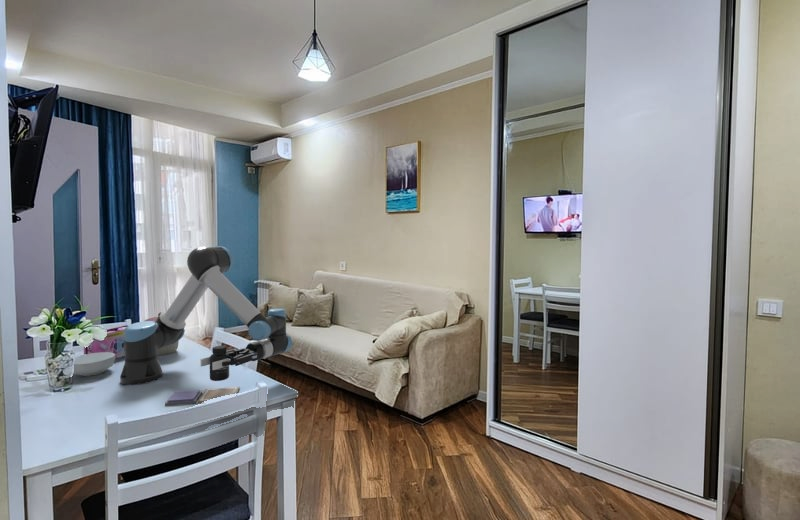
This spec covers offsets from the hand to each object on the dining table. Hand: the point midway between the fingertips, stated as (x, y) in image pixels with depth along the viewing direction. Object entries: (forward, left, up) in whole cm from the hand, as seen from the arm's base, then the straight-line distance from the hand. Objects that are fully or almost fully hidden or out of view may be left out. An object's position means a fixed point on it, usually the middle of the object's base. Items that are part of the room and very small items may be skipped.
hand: (207, 364), depth 152 cm
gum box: (-59, +66, -14) cm, 90 cm away
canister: (-38, +71, -14) cm, 81 cm away
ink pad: (-9, +3, -13) cm, 16 cm away
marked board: (+3, +4, -13) cm, 14 cm away
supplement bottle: (+4, +4, -7) cm, 8 cm away
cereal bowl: (-57, +42, -14) cm, 72 cm away
